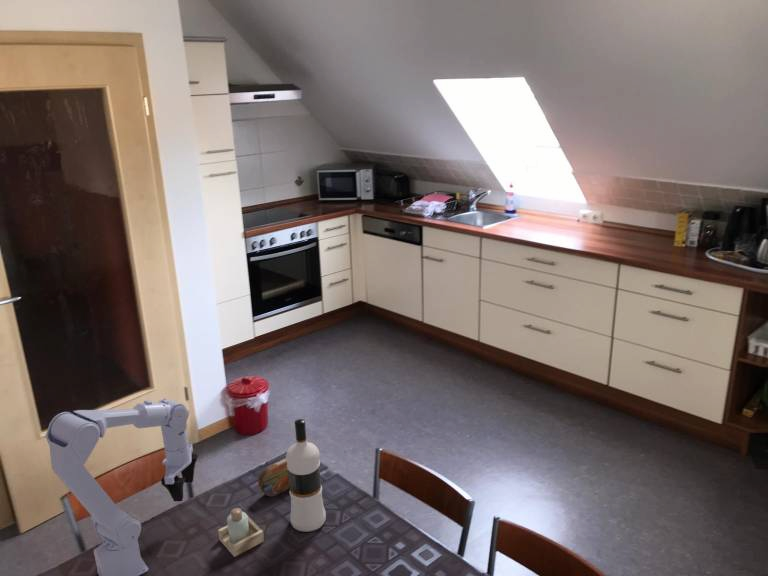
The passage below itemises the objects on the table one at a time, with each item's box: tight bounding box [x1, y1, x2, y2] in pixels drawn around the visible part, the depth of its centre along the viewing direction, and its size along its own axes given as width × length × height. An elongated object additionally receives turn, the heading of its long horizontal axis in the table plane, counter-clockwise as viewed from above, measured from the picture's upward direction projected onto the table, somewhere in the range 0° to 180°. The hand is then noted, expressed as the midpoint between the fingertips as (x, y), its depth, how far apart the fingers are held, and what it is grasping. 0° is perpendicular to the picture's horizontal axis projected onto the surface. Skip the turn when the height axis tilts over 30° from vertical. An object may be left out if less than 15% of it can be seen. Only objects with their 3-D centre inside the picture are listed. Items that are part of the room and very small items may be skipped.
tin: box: [257, 457, 290, 497], centre depth 175 cm, size 15×3×8 cm, turn 129°
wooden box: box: [217, 514, 265, 558], centre depth 156 cm, size 8×8×3 cm
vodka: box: [285, 418, 327, 533], centre depth 157 cm, size 9×9×30 cm
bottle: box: [226, 507, 250, 544], centre depth 154 cm, size 5×5×8 cm
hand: (183, 491), depth 159 cm, fingers open, 7 cm apart
